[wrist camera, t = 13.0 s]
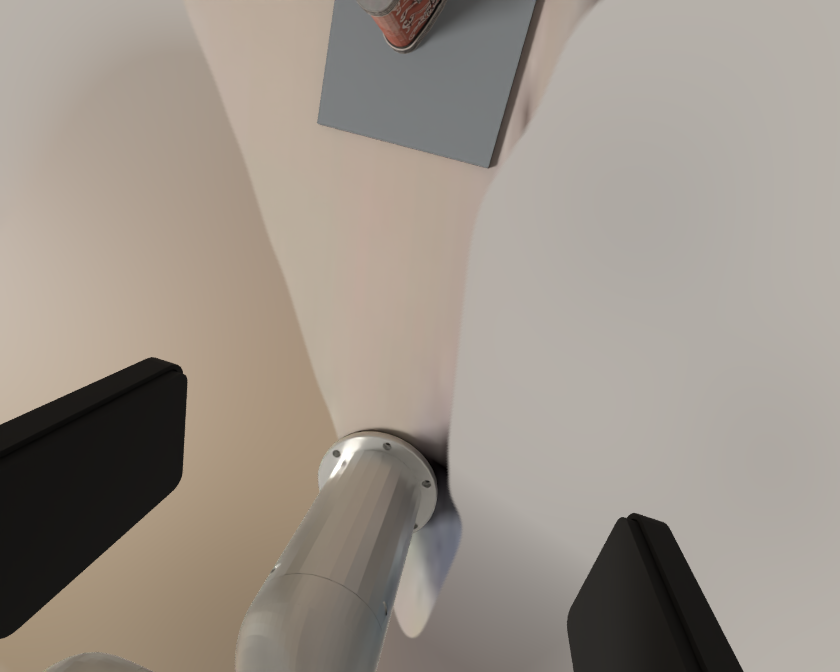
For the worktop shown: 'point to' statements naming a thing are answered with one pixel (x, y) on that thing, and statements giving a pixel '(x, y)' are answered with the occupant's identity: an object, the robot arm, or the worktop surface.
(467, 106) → the mat
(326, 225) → the worktop surface
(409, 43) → the lighter
